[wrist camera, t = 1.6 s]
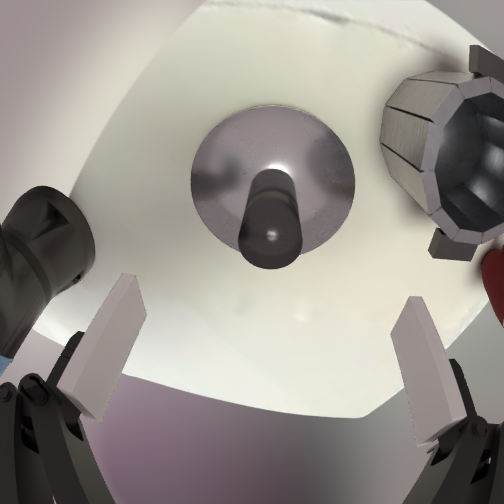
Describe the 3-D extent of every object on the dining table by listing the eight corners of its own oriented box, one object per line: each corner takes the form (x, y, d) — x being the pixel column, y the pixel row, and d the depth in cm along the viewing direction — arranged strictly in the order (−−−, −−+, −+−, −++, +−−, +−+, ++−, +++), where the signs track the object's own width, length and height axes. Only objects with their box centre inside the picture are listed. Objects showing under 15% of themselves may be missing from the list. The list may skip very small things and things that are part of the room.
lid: (201, 239, 32) (170, 315, 22) (196, 102, 23) (141, 120, 14) (335, 249, 31) (355, 328, 21) (358, 114, 23) (411, 140, 13)
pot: (365, 210, 28) (393, 261, 21) (389, 34, 17) (436, 20, 10) (463, 225, 27) (501, 269, 20) (495, 79, 17) (550, 92, 9)
